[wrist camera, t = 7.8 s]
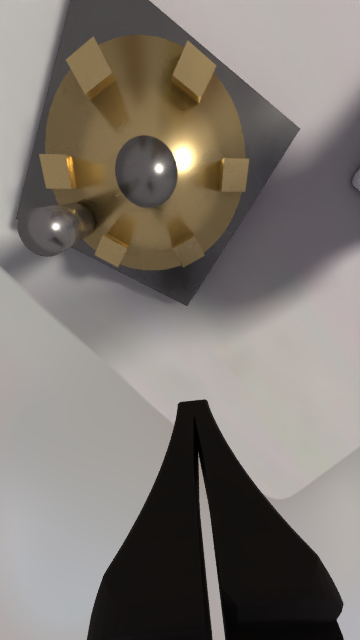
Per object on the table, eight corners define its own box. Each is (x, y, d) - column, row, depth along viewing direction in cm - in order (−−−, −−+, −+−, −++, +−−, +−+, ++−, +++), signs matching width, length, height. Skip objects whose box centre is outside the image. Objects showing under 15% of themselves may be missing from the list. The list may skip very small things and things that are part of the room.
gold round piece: (185, -5, 11) (199, -182, 6) (263, 212, 15) (312, 225, 10) (10, 137, 13) (-96, 102, 8) (122, 292, 17) (102, 336, 12)
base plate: (94, -26, 11) (83, -58, 10) (288, 134, 15) (301, 128, 13) (28, 216, 16) (14, 218, 15) (185, 298, 19) (187, 307, 18)
